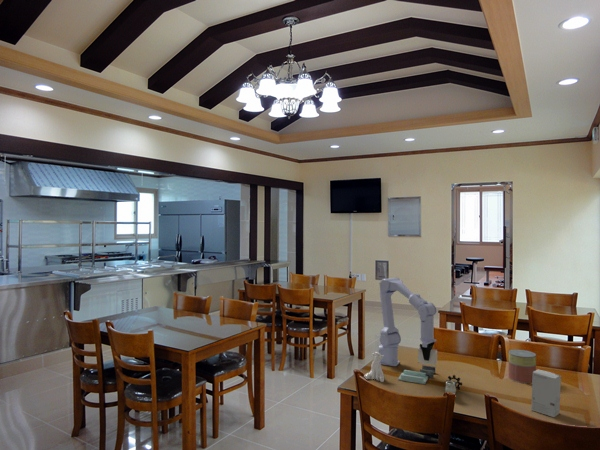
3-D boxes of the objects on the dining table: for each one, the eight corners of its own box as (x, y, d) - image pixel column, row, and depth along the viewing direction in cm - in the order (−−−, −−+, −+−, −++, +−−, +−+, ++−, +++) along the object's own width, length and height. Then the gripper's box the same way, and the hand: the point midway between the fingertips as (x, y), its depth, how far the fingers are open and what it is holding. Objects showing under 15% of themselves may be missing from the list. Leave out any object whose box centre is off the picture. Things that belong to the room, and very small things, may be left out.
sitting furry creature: (363, 379, 190) (363, 353, 190) (368, 373, 198) (368, 348, 198) (383, 382, 186) (383, 356, 186) (388, 376, 194) (387, 351, 194)
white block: (418, 362, 191) (417, 349, 191) (419, 360, 195) (419, 347, 195) (435, 365, 188) (435, 352, 188) (437, 362, 191) (437, 349, 191)
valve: (458, 402, 165) (462, 391, 176) (458, 385, 165) (462, 376, 176) (441, 398, 168) (446, 388, 179) (441, 382, 168) (446, 373, 179)
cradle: (398, 379, 189) (398, 374, 189) (402, 374, 196) (402, 369, 196) (425, 384, 183) (425, 378, 183) (428, 378, 191) (428, 373, 191)
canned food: (535, 376, 192) (534, 351, 192) (537, 385, 182) (537, 358, 182) (508, 373, 197) (507, 348, 197) (509, 381, 186) (508, 355, 186)
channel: (419, 375, 194) (419, 369, 194) (422, 371, 200) (422, 364, 200) (433, 378, 191) (433, 371, 191) (435, 373, 197) (435, 366, 197)
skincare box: (531, 410, 157) (530, 371, 157) (537, 406, 161) (537, 368, 161) (555, 418, 150) (555, 377, 150) (561, 413, 154) (561, 374, 154)
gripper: (433, 334, 183) (433, 364, 183) (438, 327, 196) (438, 355, 196) (417, 332, 186) (417, 362, 186) (423, 325, 199) (423, 353, 199)
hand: (427, 358), depth 191 cm, fingers closed on white block, 4 cm apart
